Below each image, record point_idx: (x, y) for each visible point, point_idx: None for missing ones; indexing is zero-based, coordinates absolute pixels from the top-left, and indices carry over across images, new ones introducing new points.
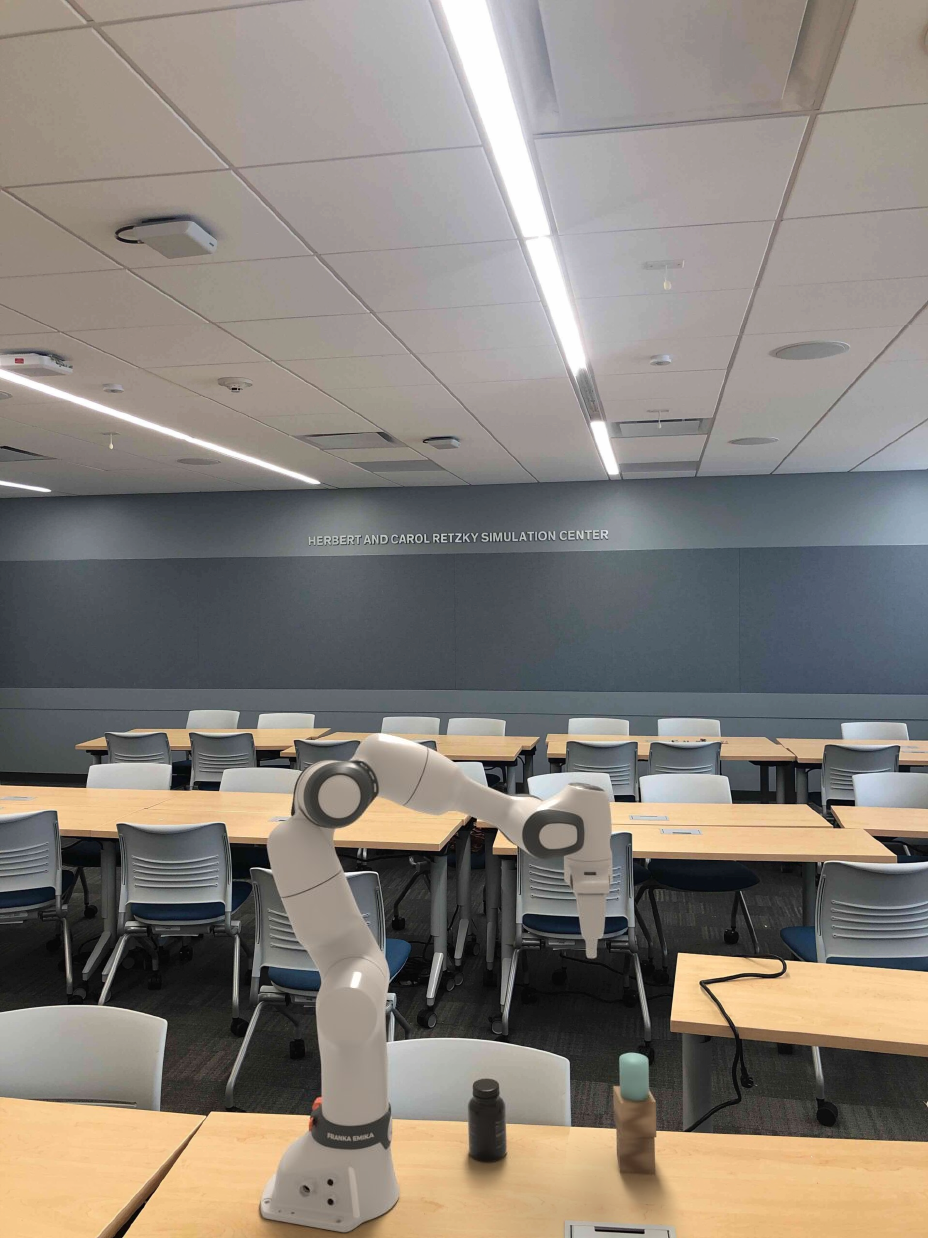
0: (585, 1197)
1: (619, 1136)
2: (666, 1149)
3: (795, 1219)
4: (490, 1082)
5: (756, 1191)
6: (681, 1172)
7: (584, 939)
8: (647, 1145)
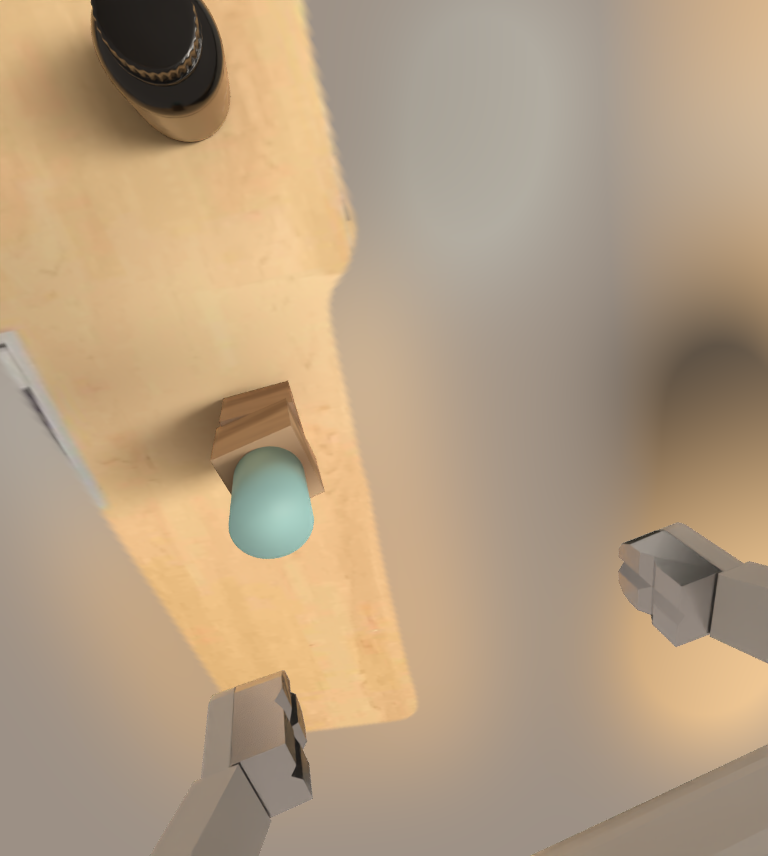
0: (113, 353)
1: (224, 421)
2: (331, 457)
3: (209, 638)
4: (167, 32)
5: (258, 588)
6: None
7: (628, 546)
8: None
